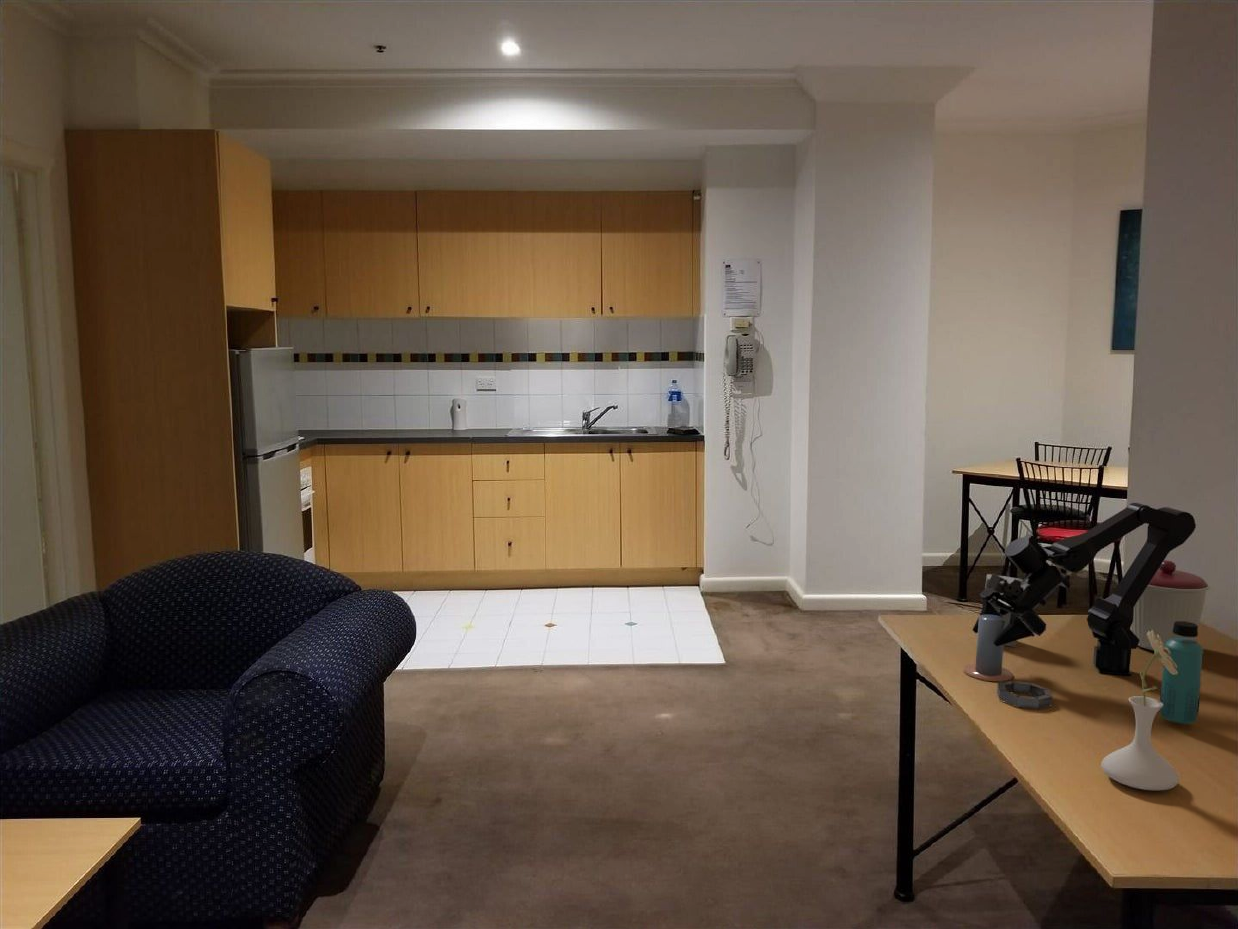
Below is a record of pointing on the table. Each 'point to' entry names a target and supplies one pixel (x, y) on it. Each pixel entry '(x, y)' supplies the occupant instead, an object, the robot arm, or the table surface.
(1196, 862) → the table surface
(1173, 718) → the beverage bottle
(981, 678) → the terracotta coaster
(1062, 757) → the table surface
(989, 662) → the blue-grey cylinder
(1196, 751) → the table surface
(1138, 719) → the flower in vase
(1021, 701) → the dark grey octagonal ring
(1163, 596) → the canister
